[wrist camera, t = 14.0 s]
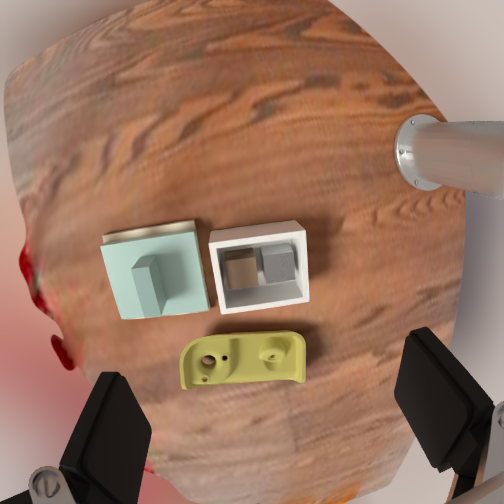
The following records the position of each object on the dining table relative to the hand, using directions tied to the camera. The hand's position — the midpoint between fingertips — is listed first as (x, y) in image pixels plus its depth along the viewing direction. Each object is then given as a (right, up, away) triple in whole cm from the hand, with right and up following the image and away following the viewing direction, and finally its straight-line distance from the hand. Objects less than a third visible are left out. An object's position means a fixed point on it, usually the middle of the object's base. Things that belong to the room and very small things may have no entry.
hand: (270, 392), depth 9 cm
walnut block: (-2, +3, +34) cm, 34 cm away
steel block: (+3, +4, +34) cm, 35 cm away
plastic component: (-2, -12, +41) cm, 42 cm away
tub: (0, +4, +35) cm, 35 cm away
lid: (-15, +1, +33) cm, 37 cm away
